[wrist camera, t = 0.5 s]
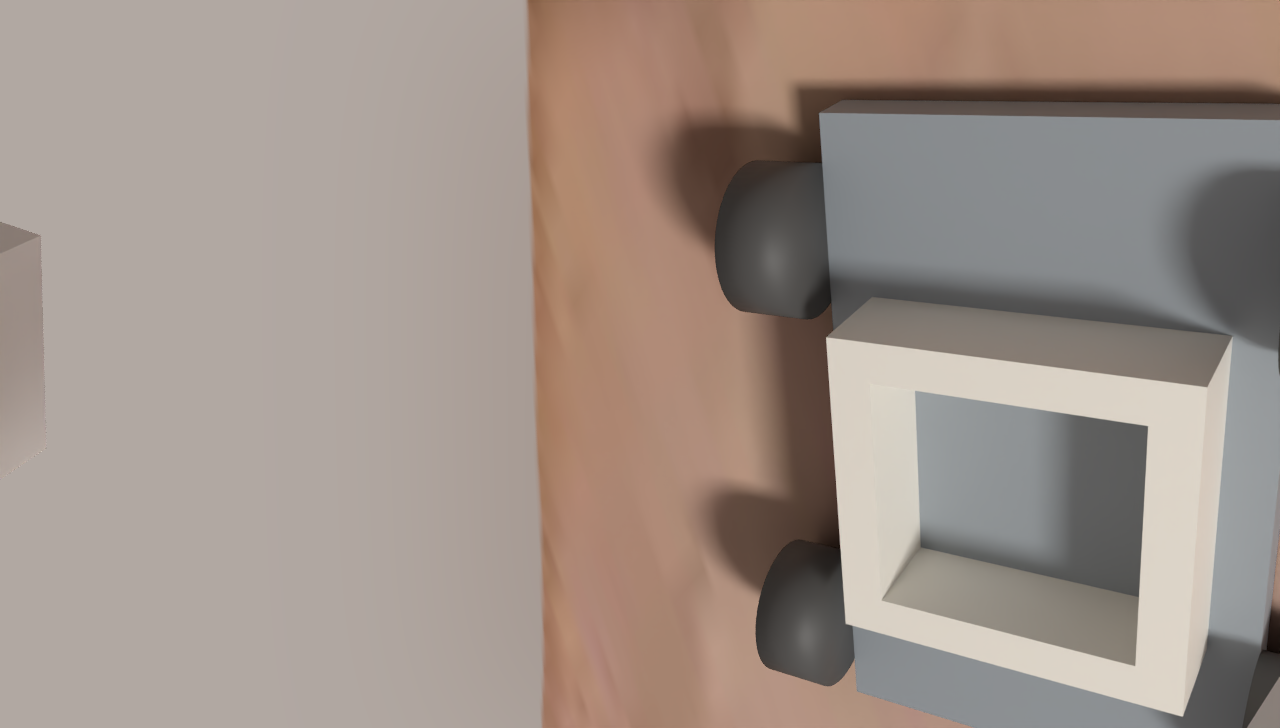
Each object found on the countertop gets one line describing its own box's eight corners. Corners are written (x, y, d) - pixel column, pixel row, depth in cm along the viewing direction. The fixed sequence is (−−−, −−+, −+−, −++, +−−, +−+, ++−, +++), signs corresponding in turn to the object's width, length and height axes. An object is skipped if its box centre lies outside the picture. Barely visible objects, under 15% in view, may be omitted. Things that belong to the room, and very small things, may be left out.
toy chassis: (779, 99, 35) (700, 139, 31) (1430, 105, 26) (1414, 162, 23) (823, 650, 43) (763, 728, 39) (1329, 798, 34) (1307, 915, 31)
